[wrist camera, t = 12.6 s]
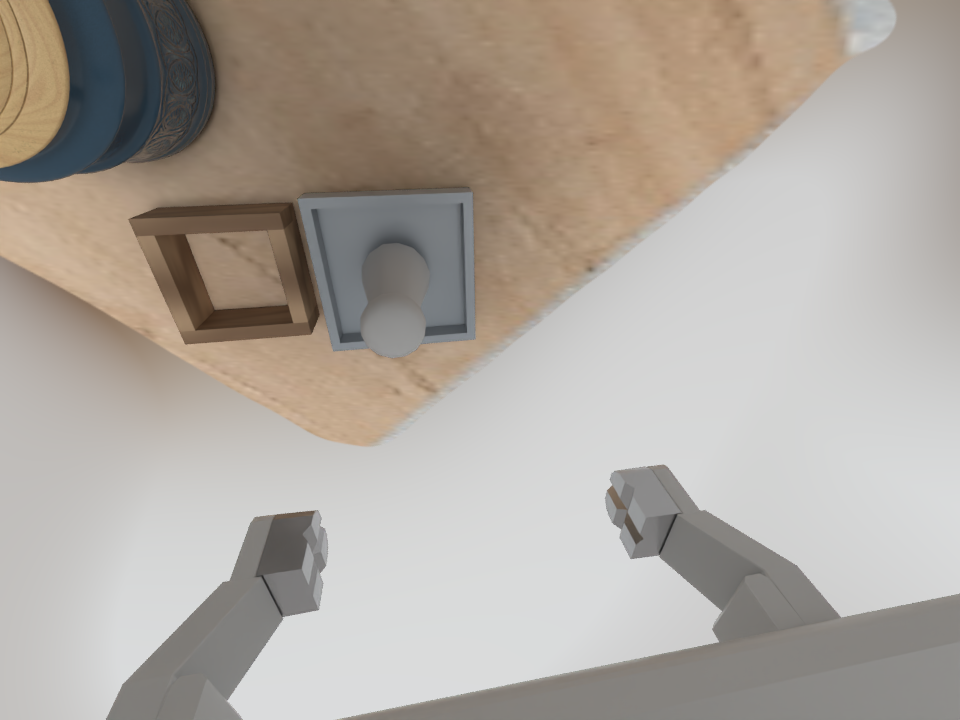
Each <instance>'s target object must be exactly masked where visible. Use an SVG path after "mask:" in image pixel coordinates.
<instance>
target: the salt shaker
mask: <svg viewBox="0 0 960 720" xmlns="http://www.w3.org/2000/svg"><path fill="white" fill-rule="evenodd" d="M429 280H430V272H429V269H428V267H427V264H426V262H425V259H424V258H423V257H422V256H421V255H420V254H419V253H418V252H417V251H416V250H415V249H414V248H412V247H409V246H406V245H403V244H400V243H392V244H382V245H381V246H379V247H378V248H377V249H375V250H374V251H372V252H371V253H369V255H368V257H367V258H366V260H365V262H364V264H363V265H362V284H363V287H364V291H365V294H366V297H367V301H368V304H367V306H366V308H365V309H364V311H363V313H362V315H361V317H360V328H361V336H362V338H363V339H364V341H365V343H366V345H367V347H368V348H370V349H371V350H373V351H374V352H375V353H377V354H378V355H381V356H385V357H389V358H396V357H403V356H406V355H408V354H410V353H412V352H413V351H415V350H417V348H418V347H419V345H420V344H421V342H422V341H423V339H424V336H425V327H426V320H425V317H424V315H423V312H422V310H421V308H420V307H421V305H422V302H423V300H424V297H425V295H426V293H427V290H428V288H429Z"/></svg>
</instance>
